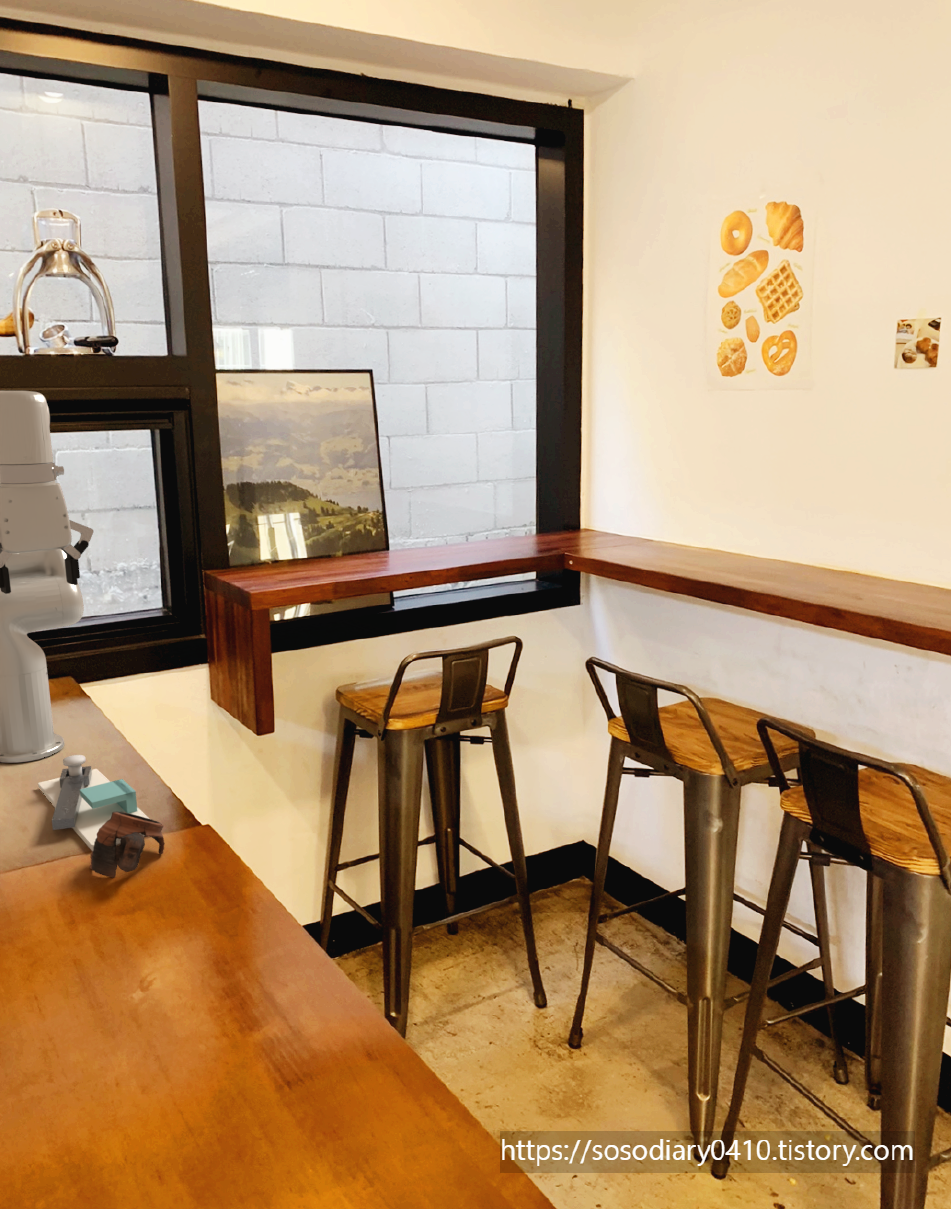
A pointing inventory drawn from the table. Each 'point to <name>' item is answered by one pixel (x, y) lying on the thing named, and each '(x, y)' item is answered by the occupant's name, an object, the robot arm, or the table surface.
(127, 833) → the brown two-tone legged part
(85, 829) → the base plank
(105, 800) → the keeper bracket
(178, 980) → the table surface
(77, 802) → the swing link
